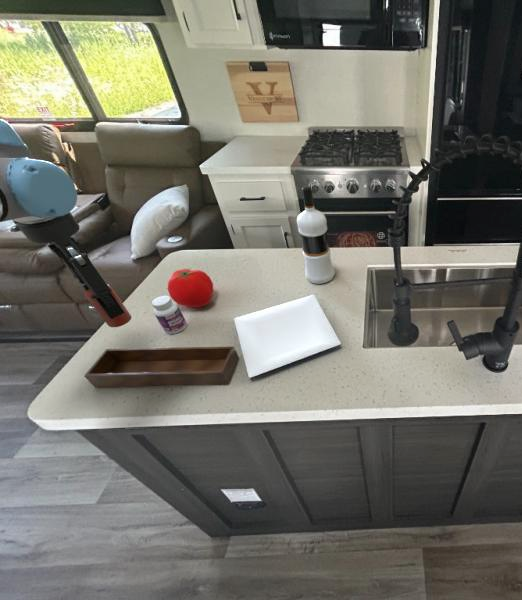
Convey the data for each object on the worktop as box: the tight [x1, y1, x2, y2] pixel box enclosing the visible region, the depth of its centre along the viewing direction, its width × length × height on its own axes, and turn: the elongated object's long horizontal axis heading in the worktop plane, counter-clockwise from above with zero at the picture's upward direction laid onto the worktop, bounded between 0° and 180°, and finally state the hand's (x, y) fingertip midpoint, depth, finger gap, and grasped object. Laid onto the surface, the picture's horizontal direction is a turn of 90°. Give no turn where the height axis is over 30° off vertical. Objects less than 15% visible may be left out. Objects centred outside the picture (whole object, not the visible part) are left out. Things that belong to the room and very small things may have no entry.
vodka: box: [296, 185, 335, 285], centre depth 98 cm, size 9×9×30 cm
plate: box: [233, 294, 341, 379], centre depth 87 cm, size 22×22×2 cm
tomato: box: [167, 267, 214, 308], centre depth 94 cm, size 11×13×10 cm
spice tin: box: [84, 283, 132, 328], centre depth 73 cm, size 5×5×9 cm
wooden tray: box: [84, 345, 240, 389], centre depth 76 cm, size 29×8×4 cm, turn 93°
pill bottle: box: [151, 295, 188, 335], centre depth 85 cm, size 5×5×10 cm
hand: (112, 310), depth 74 cm, fingers closed on spice tin, 5 cm apart
